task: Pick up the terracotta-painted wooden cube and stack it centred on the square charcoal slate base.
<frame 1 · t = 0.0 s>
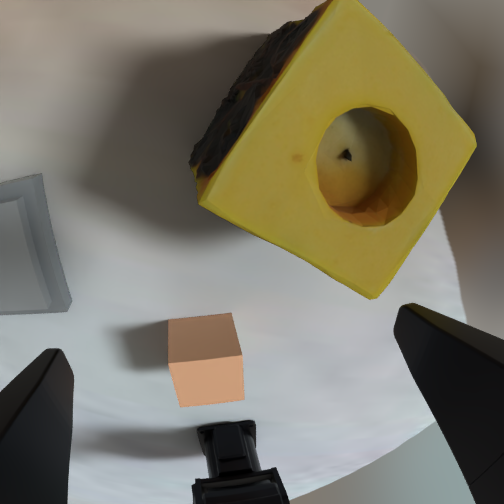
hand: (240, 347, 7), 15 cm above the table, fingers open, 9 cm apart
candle: (290, 132, 20), on the table
base: (3, 248, 19), on the table
block: (203, 339, 26), on the table
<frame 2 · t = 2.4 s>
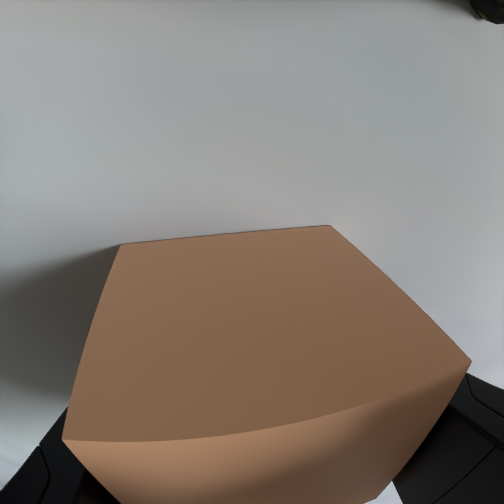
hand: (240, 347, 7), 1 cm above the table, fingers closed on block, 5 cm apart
block: (233, 321, 8), on the table, touching gripper
when the fingers open (5 cm above the table, at t = 5.9 s): block drops 1 cm, resting on base.
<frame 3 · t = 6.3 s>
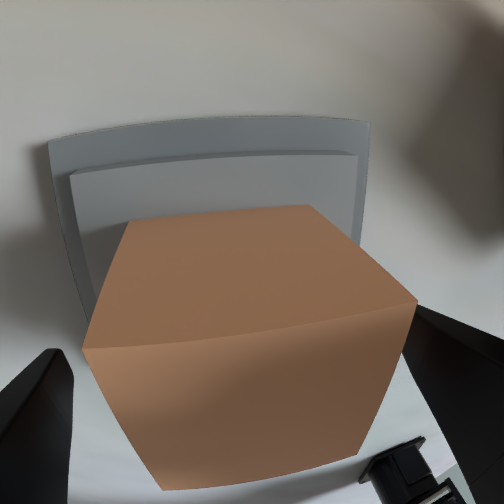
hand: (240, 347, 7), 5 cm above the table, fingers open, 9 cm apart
base: (216, 256, 12), on the table
block: (226, 290, 10), point 2 cm above the table, touching base
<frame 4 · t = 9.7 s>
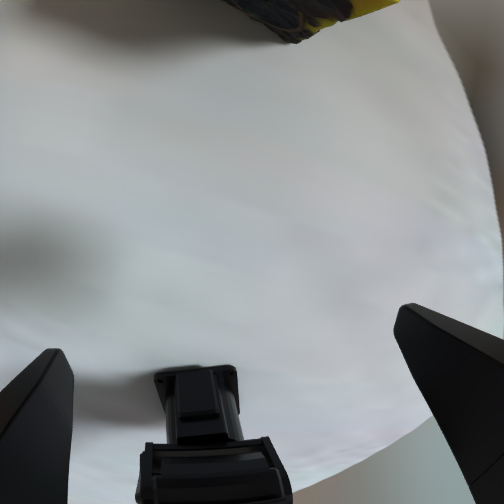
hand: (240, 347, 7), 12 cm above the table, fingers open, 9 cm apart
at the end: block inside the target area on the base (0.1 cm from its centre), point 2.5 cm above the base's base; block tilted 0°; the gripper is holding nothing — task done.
